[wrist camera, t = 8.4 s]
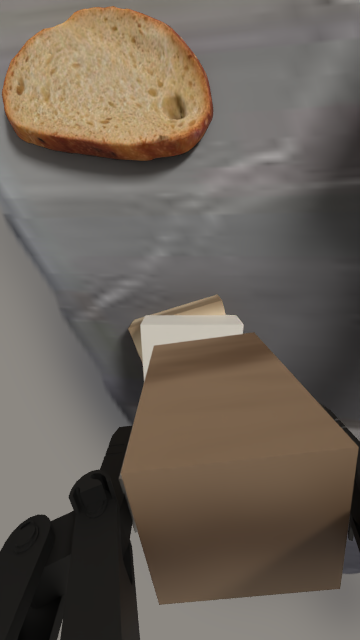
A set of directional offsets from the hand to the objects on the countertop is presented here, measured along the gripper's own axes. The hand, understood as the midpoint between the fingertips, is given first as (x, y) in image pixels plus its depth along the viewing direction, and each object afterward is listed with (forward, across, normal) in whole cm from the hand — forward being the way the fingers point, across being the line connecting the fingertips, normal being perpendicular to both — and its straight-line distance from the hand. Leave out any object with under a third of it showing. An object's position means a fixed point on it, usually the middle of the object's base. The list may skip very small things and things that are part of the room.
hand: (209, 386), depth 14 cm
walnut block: (0, 0, 0) cm, 0 cm away
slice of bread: (+18, -6, +24) cm, 30 cm away
